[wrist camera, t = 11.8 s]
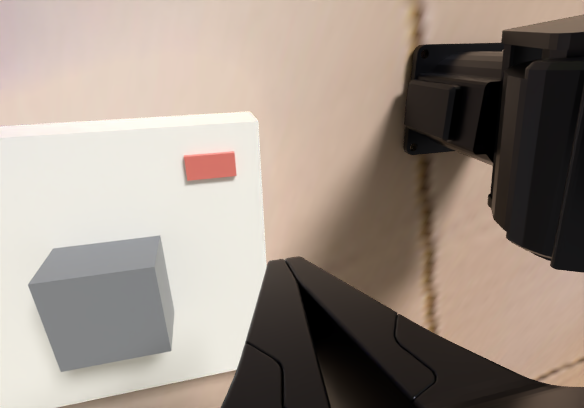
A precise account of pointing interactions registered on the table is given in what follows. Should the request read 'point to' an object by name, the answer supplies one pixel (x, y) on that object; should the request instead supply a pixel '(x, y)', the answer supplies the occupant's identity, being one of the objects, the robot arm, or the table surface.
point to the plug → (105, 302)
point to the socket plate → (129, 225)
